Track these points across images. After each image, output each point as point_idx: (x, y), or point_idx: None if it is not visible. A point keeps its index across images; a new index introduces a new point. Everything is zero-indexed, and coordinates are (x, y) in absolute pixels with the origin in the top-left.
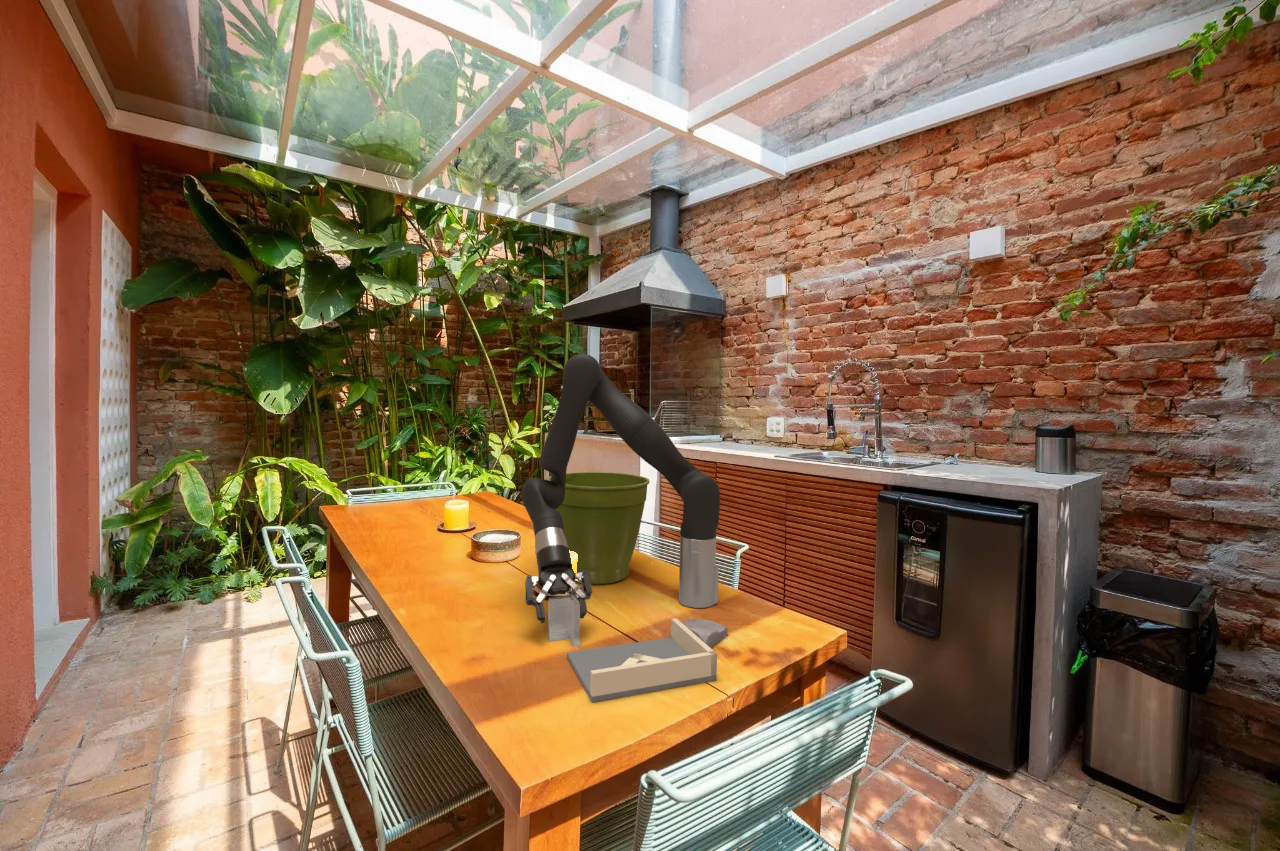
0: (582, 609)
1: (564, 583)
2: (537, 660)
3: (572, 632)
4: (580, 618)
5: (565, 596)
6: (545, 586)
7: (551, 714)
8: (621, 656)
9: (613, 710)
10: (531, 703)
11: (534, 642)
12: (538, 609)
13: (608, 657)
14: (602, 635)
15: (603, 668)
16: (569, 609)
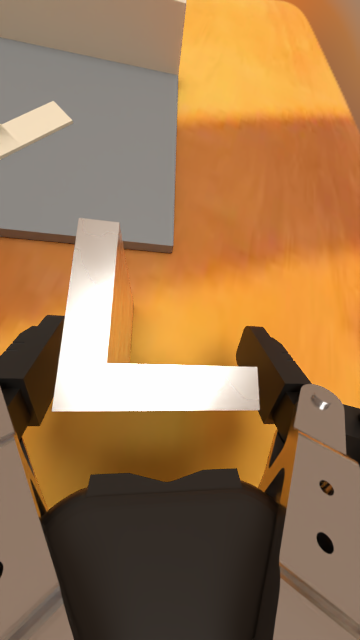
0: (49, 326)
1: (87, 583)
2: (243, 267)
3: (129, 315)
4: None
5: (128, 401)
6: (344, 502)
7: (248, 86)
8: (37, 166)
9: None
10: (275, 124)
11: None
12: (292, 365)
13: (75, 175)
14: None
15: (113, 136)
16: (118, 361)
